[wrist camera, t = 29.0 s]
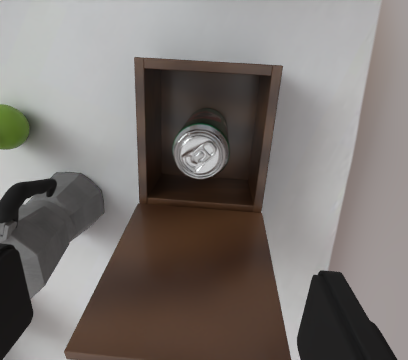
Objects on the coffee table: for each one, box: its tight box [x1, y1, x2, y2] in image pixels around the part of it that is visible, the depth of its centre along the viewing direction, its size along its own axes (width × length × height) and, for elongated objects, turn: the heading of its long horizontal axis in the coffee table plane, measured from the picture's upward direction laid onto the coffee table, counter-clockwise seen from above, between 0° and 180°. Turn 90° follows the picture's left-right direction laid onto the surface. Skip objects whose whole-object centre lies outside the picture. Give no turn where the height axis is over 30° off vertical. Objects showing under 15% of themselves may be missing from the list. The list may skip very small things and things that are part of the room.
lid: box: [64, 204, 291, 360], centre depth 24 cm, size 16×13×5 cm
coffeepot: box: [0, 172, 104, 299], centre depth 31 cm, size 15×9×18 cm, turn 157°
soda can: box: [172, 108, 230, 180], centre depth 29 cm, size 5×5×12 cm
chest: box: [134, 57, 283, 213], centre depth 31 cm, size 15×13×8 cm
